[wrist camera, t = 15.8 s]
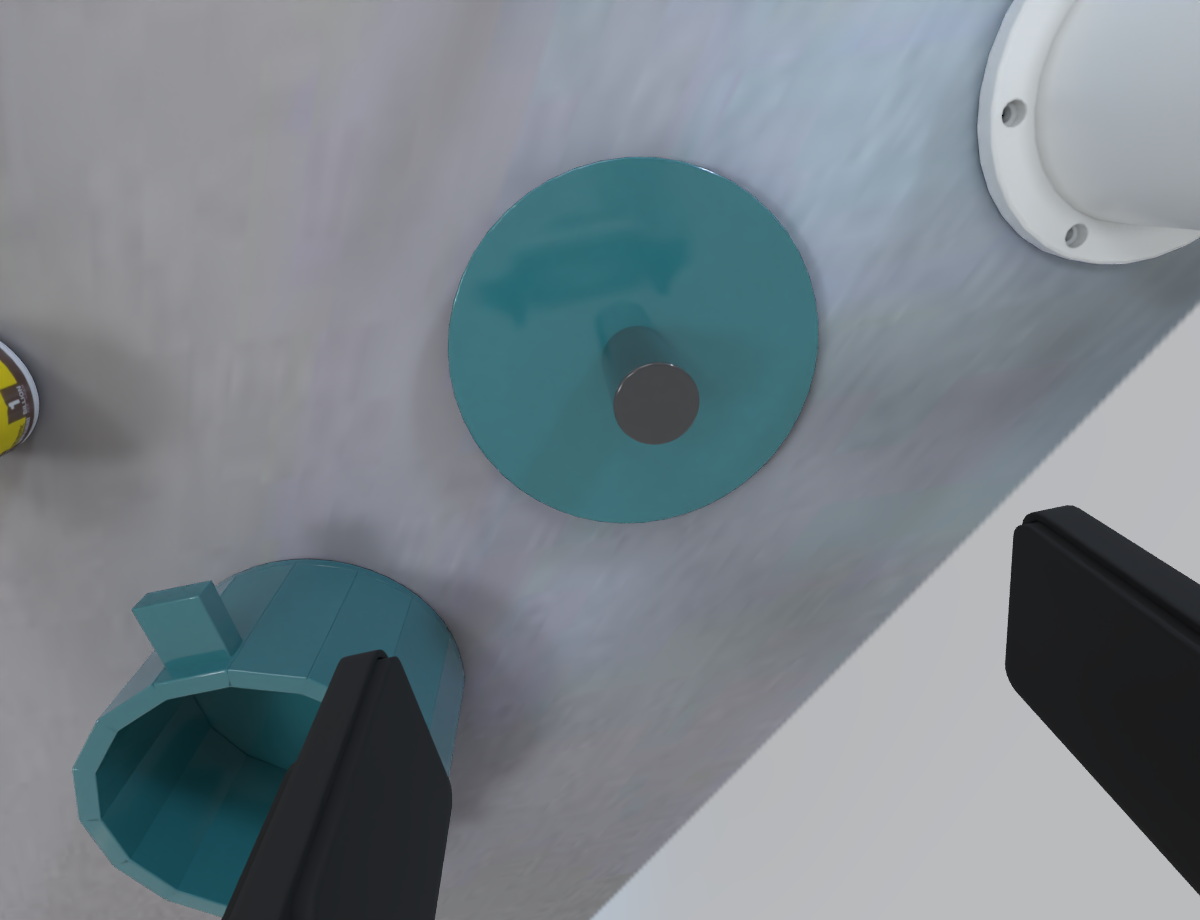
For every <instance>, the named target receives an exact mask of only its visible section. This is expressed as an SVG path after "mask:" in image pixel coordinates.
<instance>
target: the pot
mask: <svg viewBox="0 0 1200 920" xmlns="http://www.w3.org/2000/svg"><path fill="white" fill-rule="evenodd" d="M132 612H133V614H134V615H135V617H136V619H137V620H138V622H139V624H140V625H141V627H142V629H143V631H144V632H145V634H146V636H147V637H148V639H149V641H150V643H151V644H152V646H153V648H154V649H155V651H154V652H153V653H152V654H151V655H150V657H149V658H148V659H147V660H146V662H145V663H144V664H143V665H142V666H141V668H140V669H139V670H138V671H137V672H136V674H135V675H134V676H133V677H132V678H131V680H130V681H129V682H128V683H127V685H126V686H125V687H124V688H123V689H122V691H121V692H120V693H119V694H118V695H117V697H116V698H115V699H114V700H113V702H112V703H111V704H110V705H109V706H108V708H107V709H106V710H105V711H104V712H103V714H102V715H101V716H100V717H99V718H98V720H97V721H96V723H95V725H94V727H93V729H92V731H91V733H90V735H89V737H88V739H87V741H86V743H85V744H84V746H83V748H82V750H81V752H80V754H79V756H78V758H77V760H76V762H75V764H74V766H73V769H72V772H73V780H74V787H75V795H76V802H77V810H78V817H79V820H80V822H81V824H82V825H83V826H84V828H85V829H86V830H87V832H88V833H89V834H90V836H91V837H92V838H93V840H94V841H95V842H96V844H97V845H98V846H99V848H100V849H101V850H102V852H103V853H104V854H105V856H106V857H107V859H108V860H109V861H110V863H111V864H112V865H114V867H115V868H117V869H118V870H120V871H121V872H123V873H125V874H126V875H128V876H129V877H131V878H132V879H134V880H135V881H137V882H139V883H140V884H142V885H143V886H145V887H146V888H148V889H149V890H151V891H153V892H154V893H156V894H157V895H159V896H160V897H162V898H163V899H165V900H167V901H170V902H173V903H177V904H180V905H183V906H186V907H190V908H193V909H196V910H199V911H203V912H206V913H209V914H212V915H216V916H219V917H223V915H224V913H225V910H226V908H227V906H228V904H229V901H230V899H231V897H232V894H233V892H234V890H235V888H236V885H237V883H238V881H239V878H240V876H241V874H242V872H243V869H244V867H245V865H246V862H247V860H248V858H249V856H250V853H251V851H252V849H253V846H254V844H255V842H256V840H257V837H258V835H259V833H260V830H261V828H262V826H263V824H264V821H265V819H266V817H267V814H268V812H269V810H270V808H271V805H272V803H273V801H274V798H275V796H276V794H277V792H278V789H279V787H280V785H281V782H282V780H283V778H284V776H285V774H286V772H287V771H288V769H289V767H290V765H292V764H293V763H294V762H295V761H296V760H297V758H298V756H299V754H300V751H301V749H302V747H303V744H304V742H305V740H306V737H307V735H308V733H309V730H310V728H311V726H312V723H313V721H314V719H315V716H316V714H317V712H318V709H319V707H320V705H321V702H322V700H323V698H324V695H325V693H326V691H327V688H328V686H329V684H330V681H331V679H332V677H333V674H334V672H335V670H336V667H337V665H338V663H339V661H340V660H341V659H342V658H343V657H345V656H350V655H355V654H360V653H364V652H369V651H374V650H379V649H380V650H383V651H384V652H385V653H386V654H387V656H388V657H393V656H396V657H398V658H399V660H400V662H401V663H402V666H403V668H404V671H405V673H406V676H407V678H408V680H409V683H410V685H411V688H412V690H413V693H414V695H415V698H416V700H417V702H418V705H419V707H420V710H421V712H422V715H423V717H424V719H425V722H426V724H427V727H428V729H429V732H430V734H431V737H432V739H433V741H434V744H435V746H436V749H437V751H438V754H439V756H440V758H441V761H442V763H443V766H444V768H445V771H446V773H447V776H448V778H449V774H450V768H451V762H452V756H453V750H454V744H455V738H456V732H457V726H458V720H459V713H460V707H461V701H462V695H463V689H464V682H465V677H464V674H463V664H462V661H461V657H460V653H459V650H458V648H457V645H456V643H455V641H454V638H453V636H452V635H451V633H450V631H449V630H448V628H447V627H446V625H445V623H444V622H443V621H442V620H441V618H440V617H439V616H438V615H437V614H436V613H435V611H434V610H433V609H432V608H431V607H430V606H429V605H427V604H426V603H425V602H424V601H423V600H422V599H421V598H420V597H418V596H417V595H416V594H414V593H413V592H411V591H410V590H409V589H407V588H406V587H404V586H402V585H401V584H399V583H397V582H395V581H393V580H392V579H390V578H388V577H385V576H383V575H381V574H378V573H376V572H374V571H371V570H368V569H365V568H361V567H358V566H355V565H351V564H346V563H341V562H336V561H329V560H316V559H297V560H285V561H278V562H271V563H267V564H264V565H260V566H256V567H252V568H250V569H247V570H245V571H242V572H240V573H238V574H235V575H233V576H231V577H230V578H228V579H226V580H224V581H223V582H221V583H219V584H218V585H217V586H214V584H213V582H212V581H211V580H210V581H206V582H201V583H196V584H191V585H186V586H181V587H176V588H171V589H166V590H161V591H156V592H151V593H147V594H146V595H145V596H144V597H143V598H142V599H141V600H140V601H139V602H138V603H137V604H136V605H135V606H134V607H133V609H132Z"/></svg>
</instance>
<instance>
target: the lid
mask: <svg viewBox="0 0 1200 920" xmlns="http://www.w3.org/2000/svg"><path fill="white" fill-rule="evenodd" d="M817 350H818V317H817V309H816V301H815V296H814V292H813V288H812V285H811V281H810V277H809V274H808V272H807V269H806V267H805V265H804V262H803V260H802V257H801V255H800V253H799V251H798V249H797V248H796V246H795V244H794V243H793V241H792V239H791V238H790V236H789V234H788V233H787V231H786V230H785V229H784V228H783V226H782V225H781V224H780V223H779V221H778V220H777V219H776V218H775V216H774V215H773V214H772V213H771V212H770V211H769V210H768V209H767V208H766V207H765V206H764V205H763V204H762V203H760V202H759V201H758V200H757V199H756V198H755V197H754V196H753V195H752V194H750V193H749V192H747V191H746V190H744V189H743V188H741V187H740V186H738V185H737V184H735V183H734V182H732V181H731V180H729V179H727V178H725V177H723V176H720V175H718V174H716V173H714V172H712V171H710V170H708V169H705V168H702V167H699V166H695V165H692V164H689V163H686V162H683V161H677V160H670V159H664V158H657V157H624V158H617V159H610V160H602V161H598V162H595V163H591V164H588V165H584V166H581V167H577V168H574V169H572V170H570V171H567V172H565V173H563V174H561V175H558V176H556V177H554V178H552V179H550V180H548V181H546V182H545V183H543V184H542V185H540V186H538V187H537V188H535V189H534V190H532V191H530V192H529V193H527V194H526V195H525V196H524V197H523V198H521V199H520V200H519V201H518V202H517V203H515V204H514V205H513V206H512V207H511V208H509V209H508V210H507V211H506V212H505V213H504V214H503V215H502V217H501V218H500V219H499V220H498V221H497V222H496V223H495V224H494V225H493V227H492V228H491V229H490V230H489V231H488V232H487V234H486V235H485V237H484V238H483V240H482V241H481V243H480V244H479V246H478V247H477V249H476V250H475V252H474V253H473V255H472V257H471V259H470V261H469V263H468V265H467V267H466V269H465V271H464V273H463V275H462V278H461V281H460V284H459V287H458V290H457V293H456V296H455V299H454V302H453V308H452V313H451V318H450V324H449V338H448V358H449V369H450V377H451V381H452V386H453V390H454V395H455V399H456V401H457V404H458V407H459V409H460V412H461V415H462V417H463V420H464V422H465V424H466V426H467V428H468V429H469V431H470V433H471V435H472V437H473V439H474V440H475V442H476V443H477V445H478V446H479V448H480V449H481V450H482V452H483V453H484V455H485V456H486V457H487V459H488V460H489V461H490V462H491V463H492V464H493V465H494V466H495V467H496V468H497V469H498V470H499V472H500V473H501V474H502V475H503V476H505V477H506V478H507V479H508V480H509V481H511V482H512V483H513V484H514V485H515V486H517V487H518V488H519V489H520V490H522V491H524V492H525V493H527V494H528V495H530V496H531V497H533V498H534V499H536V500H538V501H540V502H542V503H544V504H546V505H548V506H550V507H552V508H554V509H556V510H559V511H562V512H565V513H568V514H571V515H574V516H577V517H581V518H585V519H590V520H595V521H600V522H612V523H644V522H650V521H657V520H664V519H668V518H672V517H676V516H679V515H683V514H686V513H689V512H691V511H694V510H697V509H699V508H702V507H704V506H706V505H708V504H710V503H712V502H714V501H716V500H718V499H720V498H722V497H724V496H725V495H727V494H728V493H730V492H731V491H733V490H734V489H736V488H737V487H739V486H740V485H741V484H743V483H744V482H745V481H747V480H748V479H749V478H750V477H751V476H752V475H753V474H755V473H756V472H757V471H758V470H759V469H760V468H761V467H762V466H763V465H764V464H765V463H766V462H767V461H768V460H769V459H770V457H771V456H772V455H773V454H774V453H775V452H776V451H777V449H778V448H779V447H780V445H781V444H782V442H783V441H784V440H785V438H786V437H787V435H788V434H789V432H790V431H791V429H792V427H793V425H794V423H795V422H796V420H797V418H798V416H799V415H800V412H801V410H802V407H803V405H804V403H805V400H806V398H807V395H808V393H809V389H810V386H811V382H812V378H813V374H814V371H815V365H816V357H817Z"/></svg>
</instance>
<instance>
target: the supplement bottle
mask: <svg viewBox="0 0 1200 920" xmlns="http://www.w3.org/2000/svg"><path fill="white" fill-rule="evenodd" d="M38 415H39V397H38V393H37V389H36V386H35V383H34V380H33V378H32V376H31V375H30V373H29V371H28V369H27V368H26V367H25V365H24V364H23V363H22V361H21V360H20V359H19V358H18V357H17V355H16V354H15V353H14V352H13V351H11V350H10V349H9V348H8V347H7V346H6V345H5V344H3V343H2V342H1V341H0V456H2V455H4V454H6V453H8V452H9V451H11V450H13V449H15V448H16V447H18V446H19V445H20V444H21V443H23V442H24V441H25V440H26V439H27V438H28V437H29V435H30V434H31V432H32V431H33V429H34V427H35V425H36V422H37V419H38Z"/></svg>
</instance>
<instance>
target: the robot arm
mask: <svg viewBox="0 0 1200 920" xmlns="http://www.w3.org/2000/svg"><path fill="white" fill-rule="evenodd" d="M1003 111H1004V117H1003V119H1002V114H1003ZM977 134H978V145H979V155H980V164H981V167H982V170H983V174H984V177H985V181H986V184H987V187H988V191H989V193H990V195H991V197H992V199H993V200H994V202H995V204H996V206H997V208H998V209H999V211H1000V213H1001V215H1002V217H1003V218H1004V219H1005V220H1006V221H1007V222H1008V223H1009V224H1010V225H1011V227H1012V228H1013V229H1014V230H1015V231H1016V232H1017V233H1018V234H1019V235H1020V236H1021V237H1022V238H1024V239H1025V240H1027V241H1028V242H1030V243H1031V244H1033V245H1034V246H1036V247H1037V248H1039V249H1040V250H1042V251H1044V252H1047V253H1050V254H1053V255H1056V256H1059V257H1062V258H1065V259H1067V260H1074V261H1081V262H1087V263H1092V264H1127V263H1132V262H1137V261H1142V260H1147V259H1152V258H1156V257H1158V256H1161V255H1163V254H1166V253H1168V252H1171V251H1174V250H1176V249H1179V248H1181V247H1184V246H1186V245H1188V244H1189V243H1191V242H1193V241H1195V240H1196V239H1198V238H1200V0H1014V1H1013V2H1012V4H1011V6H1010V8H1009V9H1008V11H1007V13H1006V14H1005V16H1004V19H1003V21H1002V24H1001V26H1000V29H999V31H998V34H997V36H996V39H995V41H994V44H993V46H992V49H991V51H990V53H989V57H988V61H987V65H986V69H985V74H984V78H983V82H982V86H981V90H980V98H979V110H978V123H977ZM1005 669H1006V673H1007V676H1008V678H1009V681H1010V683H1011V685H1012V687H1013V688H1014V689H1015V691H1016V692H1017V693H1018V694H1019V695H1020V696H1021V698H1023V700H1024V701H1025V702H1026V703H1027V704H1028V705H1029V706H1030V708H1031V709H1032V710H1033V711H1034V712H1035V713H1036V714H1037V715H1038V716H1039V717H1040V718H1041V720H1042V721H1043V722H1044V723H1045V724H1046V725H1047V726H1048V727H1049V728H1050V730H1051V731H1052V732H1053V733H1054V734H1055V735H1056V736H1057V737H1058V739H1059V740H1060V741H1061V742H1062V743H1063V744H1064V745H1065V746H1066V747H1067V749H1068V750H1069V751H1070V752H1071V753H1072V754H1073V755H1074V756H1075V757H1076V759H1077V760H1078V761H1079V762H1080V763H1081V764H1082V765H1083V766H1084V767H1085V769H1086V770H1087V771H1088V772H1089V773H1090V774H1091V775H1092V776H1093V777H1094V779H1095V780H1096V781H1097V782H1098V783H1099V784H1100V785H1101V786H1102V787H1103V789H1104V790H1105V791H1106V792H1107V793H1108V794H1109V795H1110V796H1111V797H1112V798H1113V800H1114V801H1115V802H1116V803H1117V804H1118V805H1119V806H1120V807H1121V808H1122V810H1123V811H1124V812H1125V813H1126V814H1127V815H1128V816H1129V817H1130V818H1131V820H1132V821H1133V822H1134V823H1135V824H1136V825H1137V826H1138V827H1139V828H1140V830H1141V831H1142V832H1143V833H1144V834H1145V835H1146V836H1147V837H1148V838H1149V840H1150V841H1151V842H1152V843H1153V844H1154V845H1155V846H1156V847H1157V848H1158V849H1159V851H1160V852H1161V853H1162V854H1163V855H1164V856H1165V857H1166V858H1167V860H1168V861H1169V862H1170V863H1171V864H1172V865H1173V866H1174V867H1175V868H1176V870H1177V871H1178V872H1179V873H1180V874H1181V875H1182V876H1183V877H1184V878H1185V880H1187V882H1188V883H1189V884H1190V885H1191V886H1192V887H1193V888H1194V890H1195V891H1196V892H1197V893H1198V894H1199V895H1200V585H1199V584H1198V583H1196V582H1195V581H1193V580H1192V579H1190V578H1188V577H1187V576H1185V575H1184V574H1182V573H1181V572H1179V571H1177V570H1176V569H1174V568H1173V567H1171V566H1169V565H1168V564H1166V563H1164V562H1163V561H1161V560H1160V559H1158V558H1157V557H1155V556H1154V555H1152V554H1150V553H1149V552H1147V551H1146V550H1144V549H1143V548H1141V547H1139V546H1138V545H1136V544H1135V543H1133V542H1132V541H1130V540H1128V539H1127V538H1125V537H1124V536H1122V535H1120V534H1119V533H1117V532H1116V531H1114V530H1113V529H1111V528H1109V527H1108V526H1106V525H1105V524H1103V523H1101V522H1100V521H1098V520H1097V519H1095V518H1094V517H1092V516H1090V515H1089V514H1087V513H1086V512H1084V511H1082V510H1081V509H1079V508H1077V507H1075V506H1068V505H1067V506H1062V507H1057V508H1052V509H1047V510H1043V511H1038V512H1033V513H1030V514H1028V515H1026V517H1025V518H1024V520H1023V524H1022V525H1020V526H1018V527H1017V528H1016V529H1015V531H1014V536H1013V551H1012V566H1011V582H1010V597H1009V614H1008V628H1007V644H1006V660H1005ZM451 809H452V790H451V785H450V781H449V778H448V776H447V773H446V771H445V768H444V766H443V763H442V761H441V758H440V756H439V754H438V751H437V749H436V746H435V744H434V741H433V739H432V737H431V734H430V732H429V729H428V727H427V724H426V722H425V719H424V717H423V715H422V712H421V710H420V707H419V705H418V702H417V700H416V698H415V695H414V693H413V690H412V688H411V685H410V683H409V680H408V678H407V676H406V673H405V671H404V668H403V666H402V663H401V662H400V660H399V658H398V657H396V656H393V657H388V656H387V654H386V653H385V652H384V651H383V650H380V649H379V650H374V651H369V652H364V653H360V654H355V655H350V656H345V657H343V658H342V659H341V660H340V661H339V663H338V665H337V667H336V670H335V672H334V674H333V677H332V679H331V681H330V684H329V686H328V688H327V691H326V693H325V695H324V698H323V700H322V702H321V705H320V707H319V709H318V712H317V714H316V716H315V719H314V721H313V723H312V726H311V728H310V730H309V733H308V735H307V737H306V740H305V742H304V744H303V747H302V749H301V751H300V754H299V756H298V758H297V760H296V761H295V762H294V763H293V764H292V765H290V767H289V769H288V771H287V772H286V774H285V776H284V778H283V780H282V782H281V785H280V787H279V789H278V792H277V794H276V796H275V798H274V801H273V803H272V805H271V808H270V810H269V812H268V814H267V817H266V819H265V821H264V824H263V826H262V828H261V830H260V833H259V835H258V837H257V840H256V842H255V844H254V846H253V849H252V851H251V853H250V856H249V858H248V860H247V862H246V865H245V867H244V869H243V872H242V874H241V876H240V878H239V881H238V883H237V885H236V888H235V890H234V892H233V894H232V897H231V899H230V901H229V904H228V906H227V908H226V910H225V913H224V915H223V917H222V919H221V920H435V914H436V907H437V901H438V894H439V888H440V881H441V874H442V868H443V861H444V855H445V848H446V842H447V835H448V829H449V822H450V815H451Z"/></svg>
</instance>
